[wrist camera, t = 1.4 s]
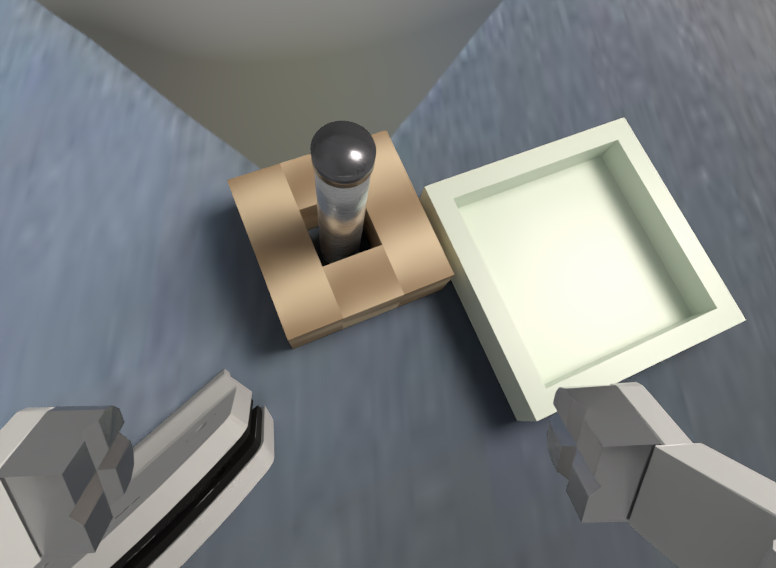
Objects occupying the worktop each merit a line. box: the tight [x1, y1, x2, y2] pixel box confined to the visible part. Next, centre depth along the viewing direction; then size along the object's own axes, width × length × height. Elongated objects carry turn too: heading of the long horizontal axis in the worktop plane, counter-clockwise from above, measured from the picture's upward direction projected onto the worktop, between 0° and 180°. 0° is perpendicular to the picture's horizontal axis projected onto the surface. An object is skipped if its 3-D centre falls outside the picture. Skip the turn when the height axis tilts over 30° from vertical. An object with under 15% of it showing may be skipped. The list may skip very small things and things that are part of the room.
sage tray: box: [419, 118, 746, 421], centre depth 37 cm, size 18×18×4 cm
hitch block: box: [227, 130, 454, 349], centre depth 35 cm, size 12×12×4 cm
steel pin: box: [311, 121, 376, 263], centre depth 30 cm, size 3×3×14 cm
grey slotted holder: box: [33, 369, 274, 568], centre depth 27 cm, size 17×5×10 cm, turn 133°
